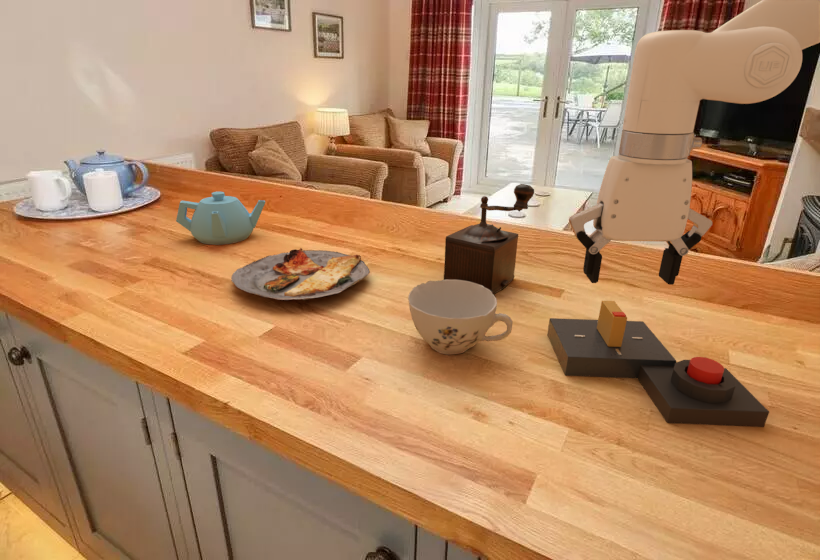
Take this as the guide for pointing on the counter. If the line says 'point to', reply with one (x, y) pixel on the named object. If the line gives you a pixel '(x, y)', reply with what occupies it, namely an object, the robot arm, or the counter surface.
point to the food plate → (300, 274)
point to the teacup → (455, 314)
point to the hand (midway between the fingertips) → (628, 279)
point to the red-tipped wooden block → (611, 323)
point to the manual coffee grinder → (485, 248)
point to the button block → (700, 398)
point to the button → (705, 370)
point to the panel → (605, 349)
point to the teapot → (219, 219)
